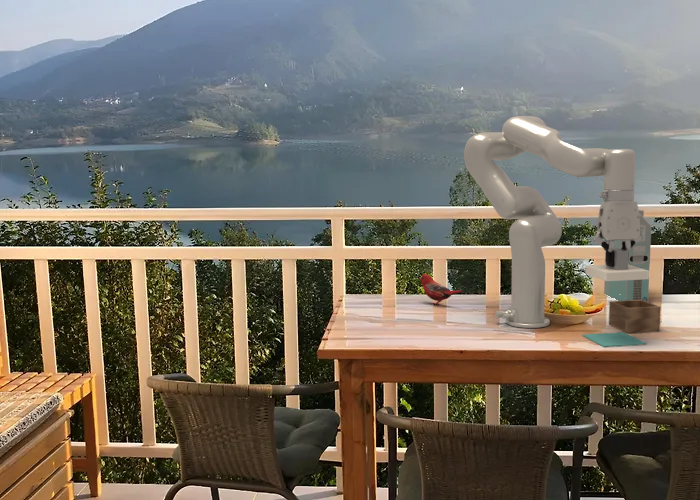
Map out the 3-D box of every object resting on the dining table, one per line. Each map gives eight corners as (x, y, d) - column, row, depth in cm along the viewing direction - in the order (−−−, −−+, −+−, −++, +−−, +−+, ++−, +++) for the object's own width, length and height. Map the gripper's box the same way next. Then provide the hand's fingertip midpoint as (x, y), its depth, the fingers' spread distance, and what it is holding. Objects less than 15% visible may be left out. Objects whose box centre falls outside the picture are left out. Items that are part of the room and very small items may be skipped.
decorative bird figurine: (422, 301, 263) (422, 272, 261) (465, 309, 251) (465, 278, 249) (416, 303, 261) (416, 273, 259) (460, 310, 249) (460, 279, 247)
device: (648, 303, 255) (652, 212, 250) (625, 304, 254) (629, 212, 249) (625, 293, 271) (628, 207, 266) (603, 294, 270) (606, 208, 266)
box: (626, 333, 217) (627, 308, 216) (608, 324, 227) (609, 301, 226) (659, 331, 219) (660, 306, 218) (640, 323, 229) (641, 299, 228)
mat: (603, 347, 204) (603, 345, 204) (582, 335, 215) (582, 334, 215) (646, 344, 206) (646, 343, 206) (623, 333, 217) (623, 332, 217)
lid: (606, 281, 201) (607, 253, 200) (585, 273, 213) (586, 247, 212) (649, 279, 203) (650, 251, 202) (625, 271, 215) (626, 245, 214)
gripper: (596, 198, 200) (594, 269, 202) (655, 196, 203) (652, 266, 205) (583, 196, 207) (581, 265, 210) (640, 194, 210) (637, 262, 212)
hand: (616, 265), depth 207 cm, fingers closed on lid, 3 cm apart
